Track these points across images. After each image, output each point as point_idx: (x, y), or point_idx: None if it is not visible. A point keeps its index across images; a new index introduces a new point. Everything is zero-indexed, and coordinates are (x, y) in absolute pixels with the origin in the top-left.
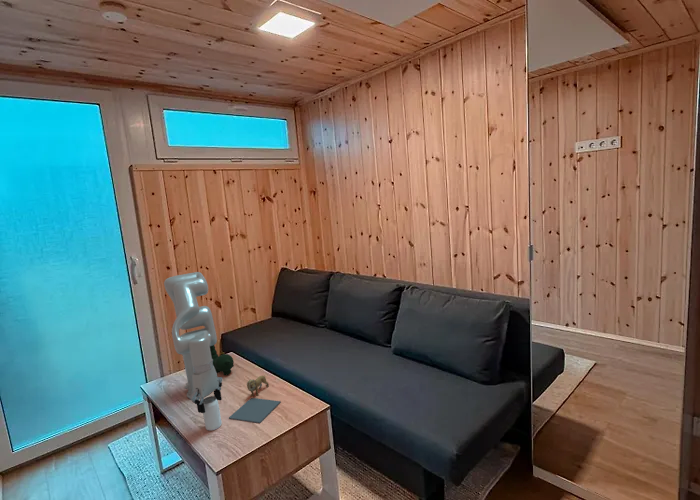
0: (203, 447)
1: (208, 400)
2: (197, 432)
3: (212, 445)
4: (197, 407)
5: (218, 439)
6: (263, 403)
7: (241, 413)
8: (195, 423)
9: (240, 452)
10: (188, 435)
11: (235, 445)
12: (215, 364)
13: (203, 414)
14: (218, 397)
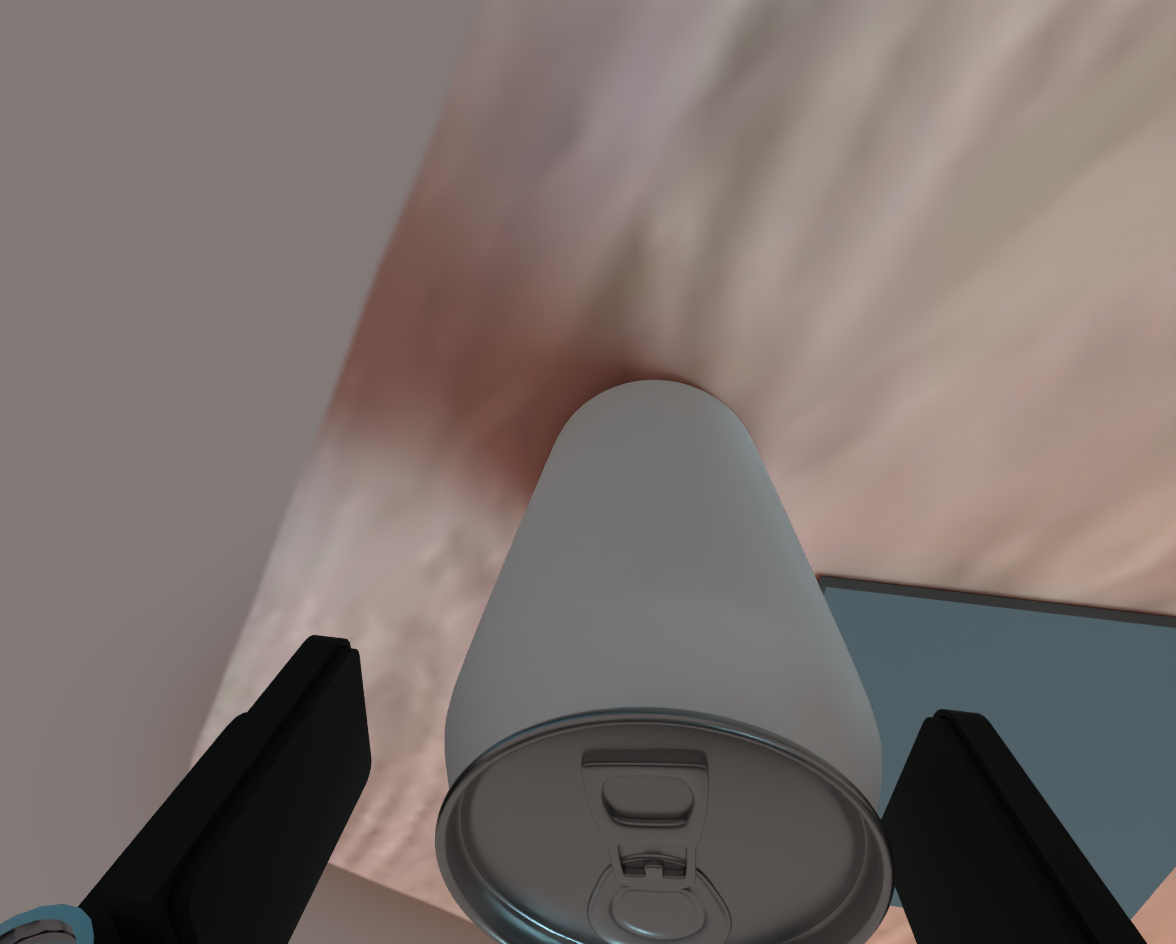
0: (306, 578)
1: (653, 837)
2: (496, 329)
3: (360, 642)
4: (161, 814)
5: (450, 650)
6: (1112, 821)
7: (911, 687)
8: (699, 103)
9: (372, 857)
10: (407, 234)
11: (425, 804)
12: None
13: (511, 549)
14: (920, 884)
